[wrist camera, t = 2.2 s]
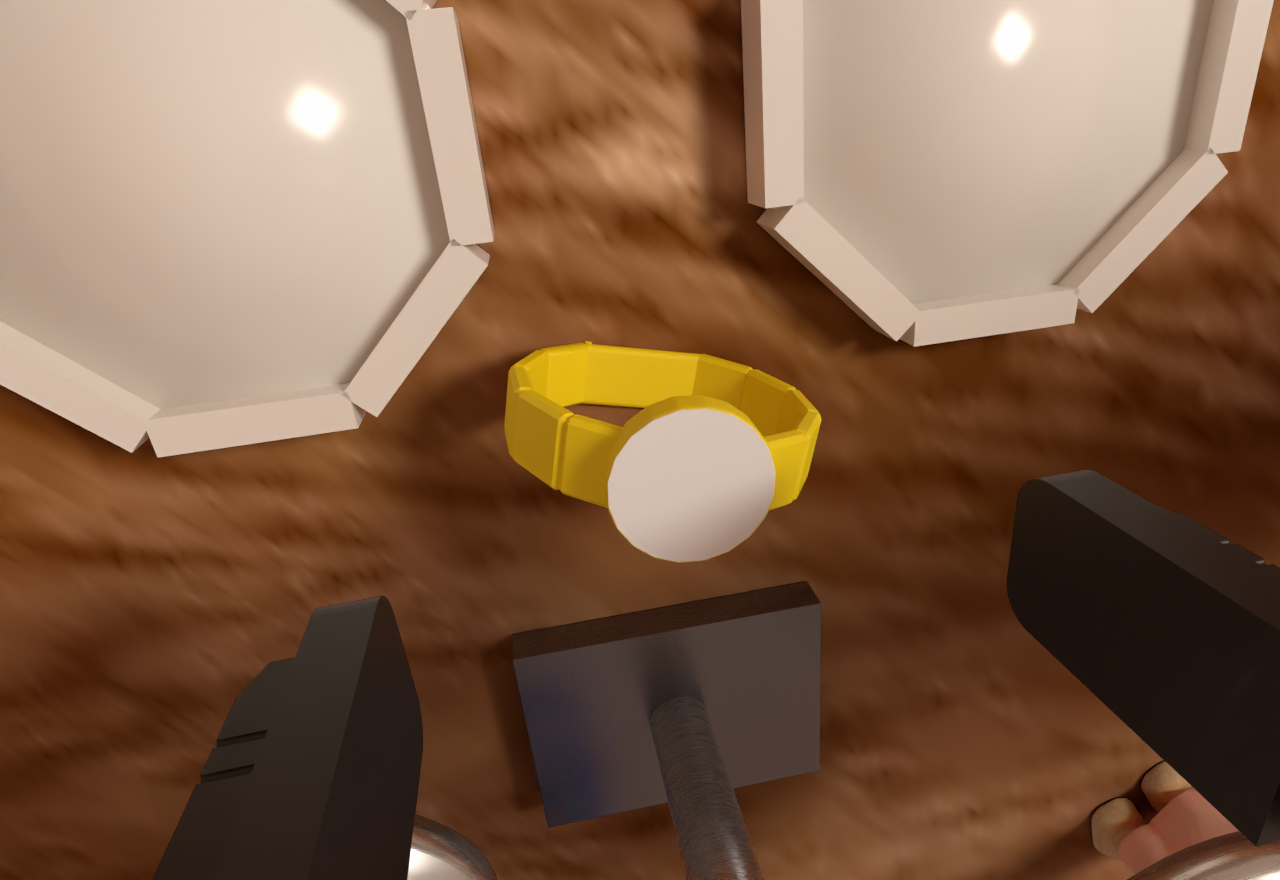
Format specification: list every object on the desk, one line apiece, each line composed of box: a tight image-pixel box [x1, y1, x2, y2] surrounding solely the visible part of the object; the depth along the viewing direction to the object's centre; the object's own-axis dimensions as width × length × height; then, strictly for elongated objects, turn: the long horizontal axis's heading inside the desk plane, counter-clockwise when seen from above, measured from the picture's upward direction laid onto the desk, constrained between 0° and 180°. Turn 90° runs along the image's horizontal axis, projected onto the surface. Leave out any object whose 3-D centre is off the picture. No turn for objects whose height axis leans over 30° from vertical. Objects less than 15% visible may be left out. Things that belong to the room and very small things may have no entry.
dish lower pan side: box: [0, 0, 495, 458], centre depth 13 cm, size 11×11×1 cm
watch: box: [504, 341, 822, 563], centre depth 14 cm, size 6×3×6 cm, turn 82°
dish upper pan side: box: [741, 0, 1274, 347], centre depth 15 cm, size 11×11×1 cm
